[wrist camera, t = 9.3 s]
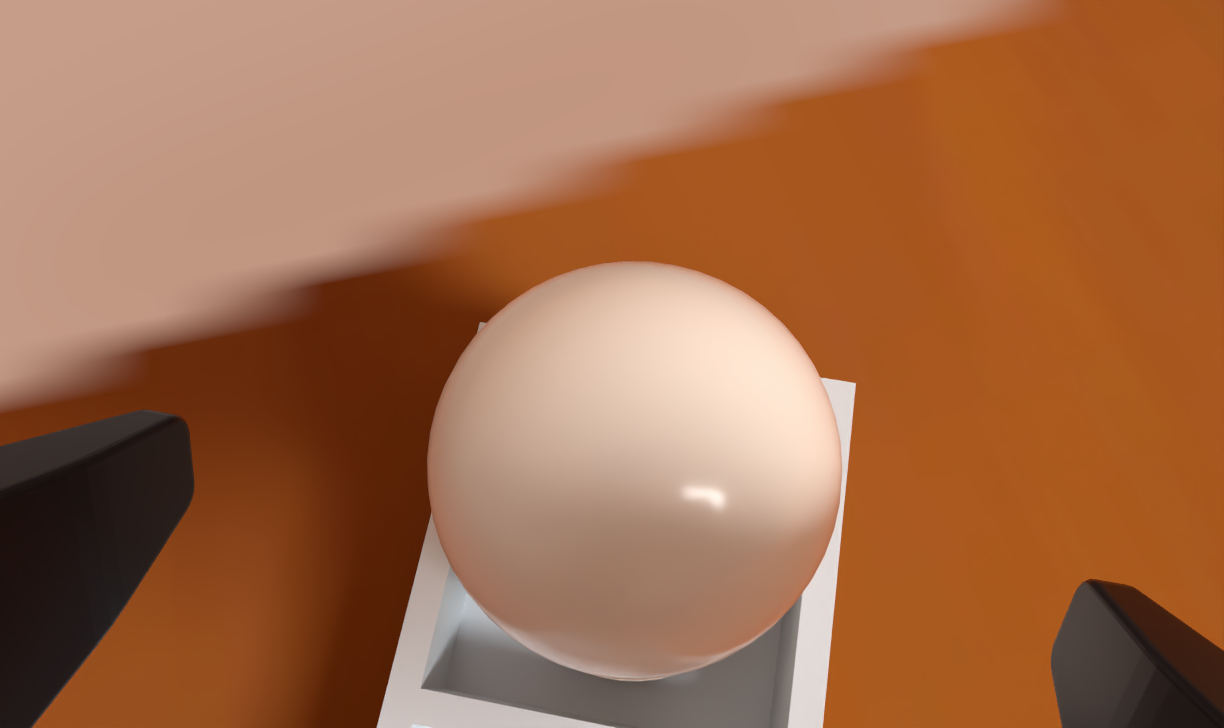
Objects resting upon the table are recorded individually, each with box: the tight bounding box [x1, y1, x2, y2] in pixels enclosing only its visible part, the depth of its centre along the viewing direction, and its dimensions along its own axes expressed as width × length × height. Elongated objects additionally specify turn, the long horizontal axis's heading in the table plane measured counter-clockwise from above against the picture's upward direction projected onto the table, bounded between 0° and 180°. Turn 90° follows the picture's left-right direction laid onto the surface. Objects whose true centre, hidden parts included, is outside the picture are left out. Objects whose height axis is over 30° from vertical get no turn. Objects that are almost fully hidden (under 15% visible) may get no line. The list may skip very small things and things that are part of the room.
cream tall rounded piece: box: [427, 261, 842, 682], centre depth 14 cm, size 5×5×11 cm
